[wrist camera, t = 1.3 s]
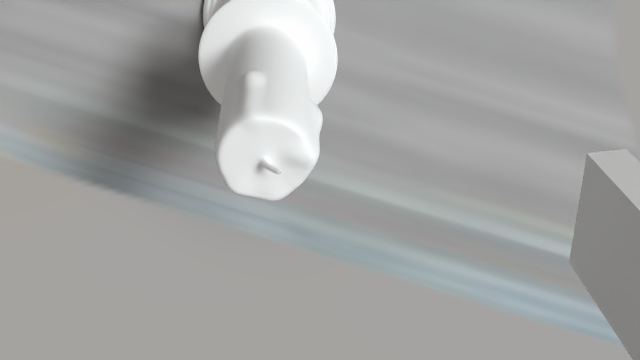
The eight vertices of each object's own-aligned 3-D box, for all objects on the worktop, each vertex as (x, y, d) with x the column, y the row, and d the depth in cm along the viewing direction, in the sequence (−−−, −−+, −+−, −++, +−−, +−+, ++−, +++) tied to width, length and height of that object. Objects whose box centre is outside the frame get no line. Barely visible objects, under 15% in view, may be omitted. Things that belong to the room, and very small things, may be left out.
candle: (332, -55, 22) (377, 57, 12) (337, 76, 25) (375, 253, 15) (193, -46, 22) (123, 73, 12) (213, 84, 25) (170, 268, 15)
